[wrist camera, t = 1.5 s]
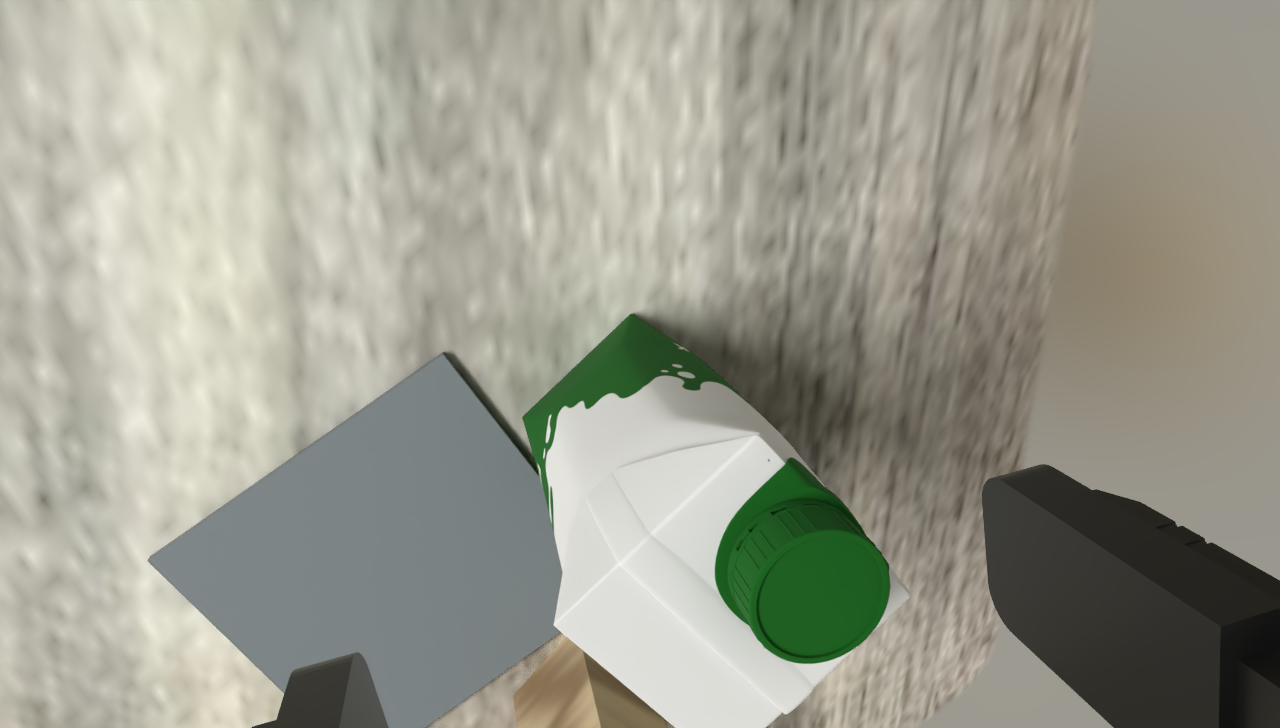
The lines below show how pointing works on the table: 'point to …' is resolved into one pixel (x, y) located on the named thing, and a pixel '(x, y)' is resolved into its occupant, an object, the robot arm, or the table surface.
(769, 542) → the soya milk
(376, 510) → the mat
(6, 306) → the table surface
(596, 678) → the oak block
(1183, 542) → the robot arm
